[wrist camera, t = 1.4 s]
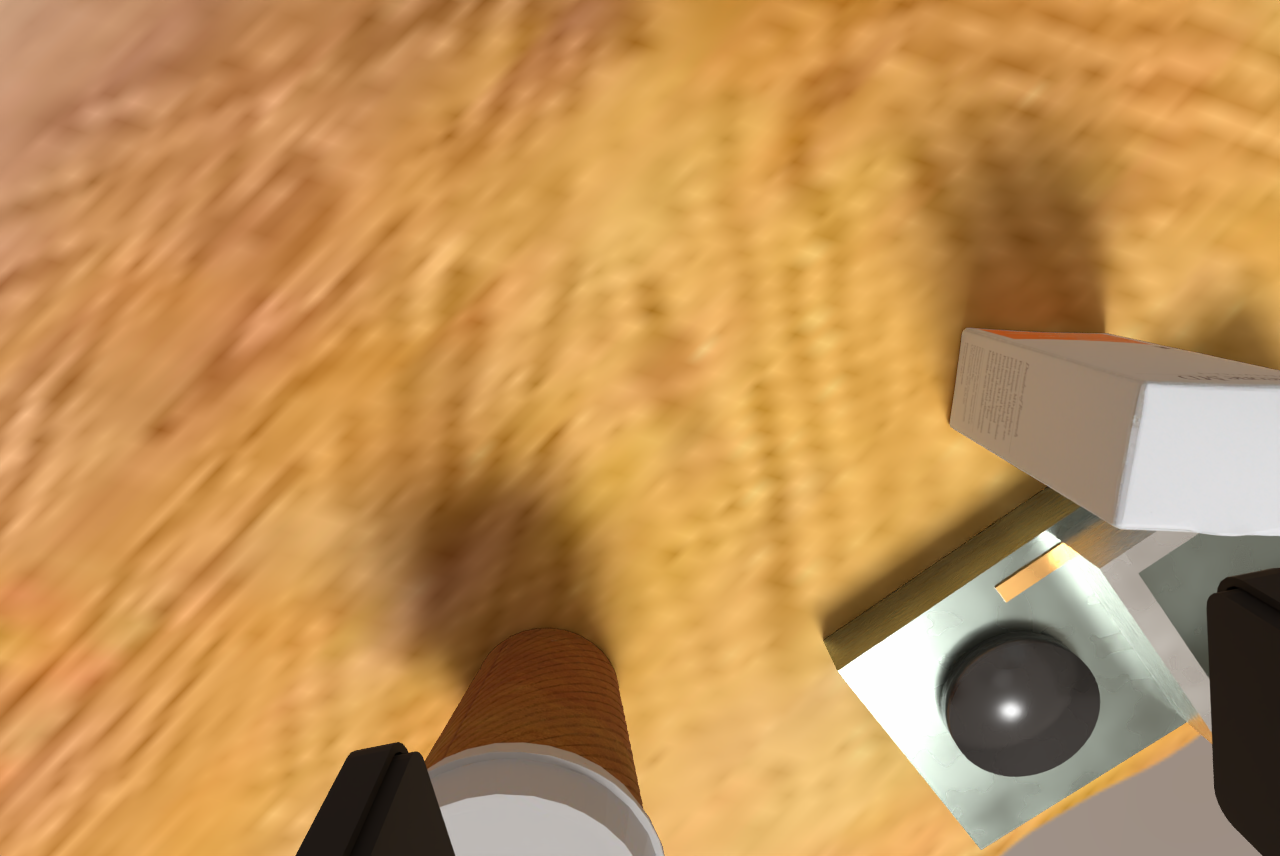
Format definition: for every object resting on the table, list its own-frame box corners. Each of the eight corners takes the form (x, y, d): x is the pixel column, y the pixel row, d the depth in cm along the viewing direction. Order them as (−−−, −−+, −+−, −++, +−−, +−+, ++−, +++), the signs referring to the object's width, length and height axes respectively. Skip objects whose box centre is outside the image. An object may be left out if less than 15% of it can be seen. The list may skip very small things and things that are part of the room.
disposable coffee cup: (667, 772, 37) (686, 1025, 25) (459, 796, 37) (382, 1059, 25) (641, 580, 34) (649, 760, 23) (420, 606, 34) (316, 799, 23)
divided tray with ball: (1231, 360, 32) (1350, 387, 27) (1351, 560, 35) (1482, 621, 29) (823, 640, 35) (858, 714, 30) (958, 809, 37) (1013, 906, 32)
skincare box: (1107, 329, 32) (1381, 387, 20) (1088, 433, 33) (1339, 544, 21) (957, 323, 32) (1146, 378, 20) (942, 427, 33) (1115, 537, 21)
